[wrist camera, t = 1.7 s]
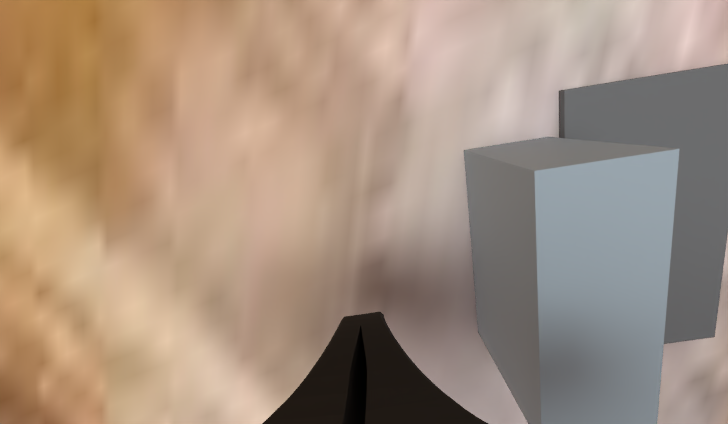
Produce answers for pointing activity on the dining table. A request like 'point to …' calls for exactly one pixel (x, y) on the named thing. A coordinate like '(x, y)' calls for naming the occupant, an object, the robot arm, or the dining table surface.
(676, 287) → the flat gray panel
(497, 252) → the slab
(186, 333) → the dining table surface
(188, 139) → the dining table surface
